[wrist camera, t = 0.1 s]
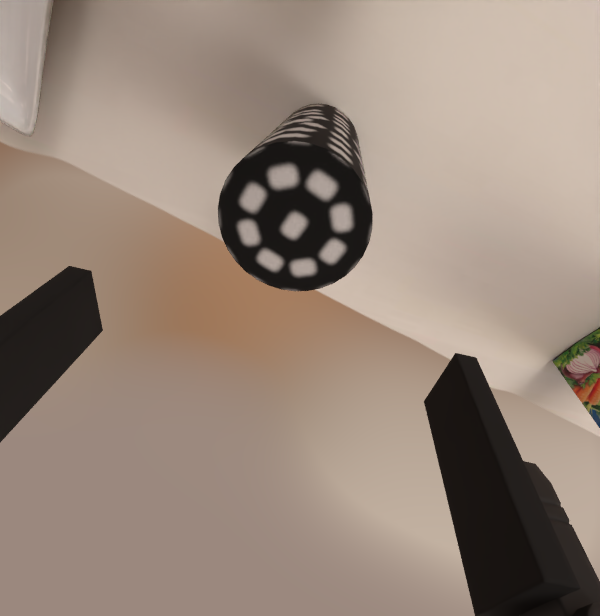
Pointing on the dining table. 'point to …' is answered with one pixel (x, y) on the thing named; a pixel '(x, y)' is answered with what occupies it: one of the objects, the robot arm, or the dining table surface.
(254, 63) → the dining table surface
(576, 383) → the blue food package
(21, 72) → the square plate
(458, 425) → the robot arm
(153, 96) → the dining table surface
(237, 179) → the spotted tube
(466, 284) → the dining table surface
